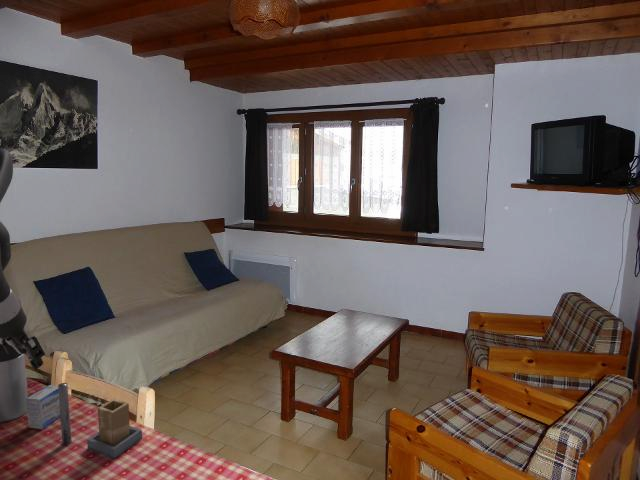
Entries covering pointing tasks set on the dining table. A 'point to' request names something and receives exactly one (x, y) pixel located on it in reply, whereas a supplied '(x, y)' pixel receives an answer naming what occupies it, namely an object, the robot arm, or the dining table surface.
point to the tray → (115, 451)
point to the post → (64, 413)
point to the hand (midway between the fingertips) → (25, 359)
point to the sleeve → (113, 422)
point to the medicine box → (43, 407)
